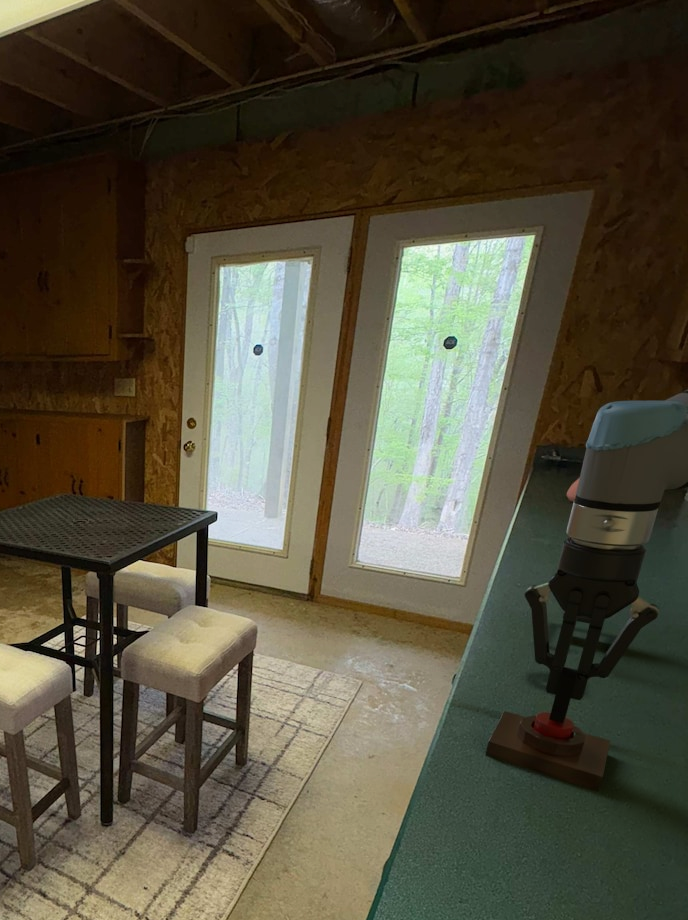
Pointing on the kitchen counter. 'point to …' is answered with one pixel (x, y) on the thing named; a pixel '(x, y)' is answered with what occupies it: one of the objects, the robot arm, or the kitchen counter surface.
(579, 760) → the brown button housing
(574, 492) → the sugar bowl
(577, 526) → the robot arm
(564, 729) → the button
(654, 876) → the kitchen counter surface
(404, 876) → the kitchen counter surface
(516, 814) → the kitchen counter surface
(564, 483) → the kitchen counter surface
